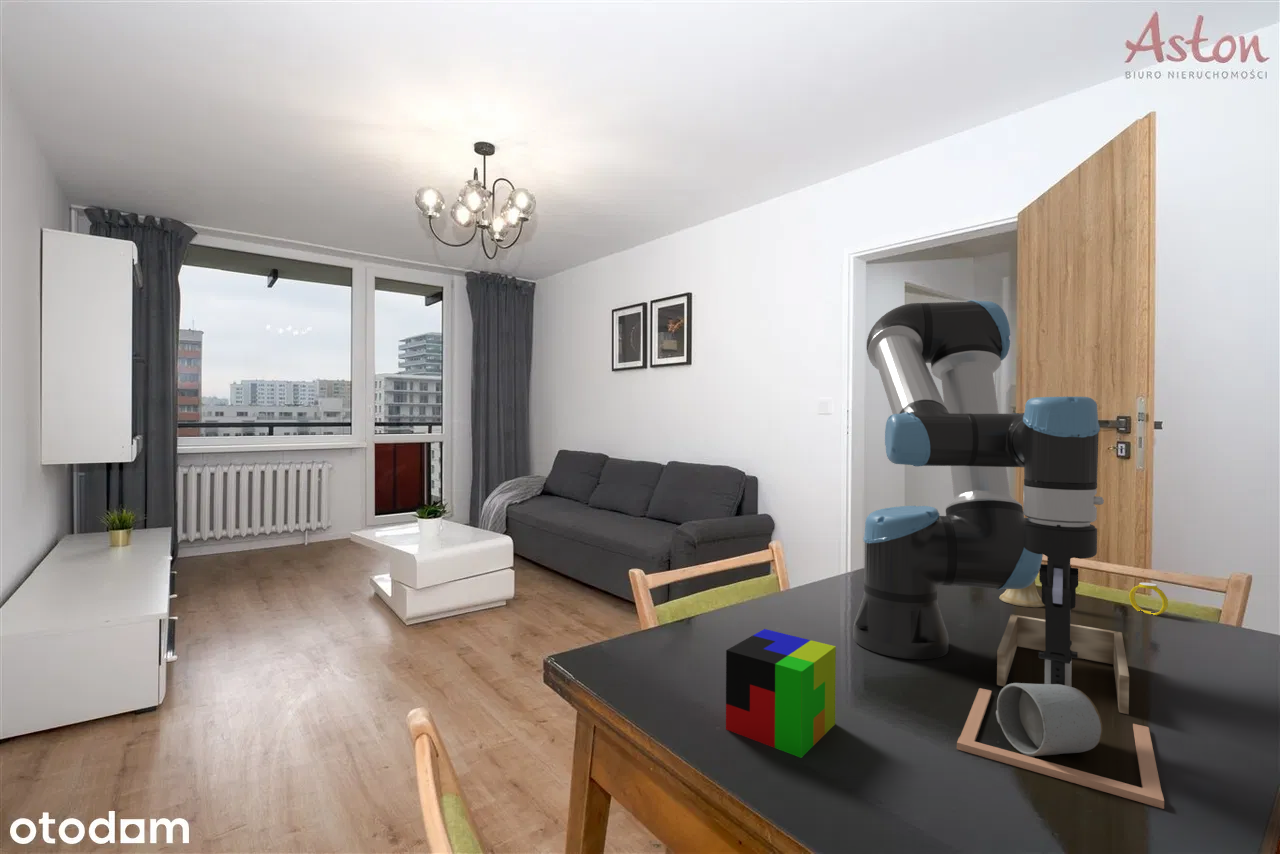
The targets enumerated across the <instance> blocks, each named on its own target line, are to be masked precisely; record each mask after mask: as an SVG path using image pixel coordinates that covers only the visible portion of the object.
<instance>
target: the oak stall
mask: <svg viewBox="0 0 1280 854" xmlns="http://www.w3.org/2000/svg"><path fill="white" fill-rule="evenodd" d="M1070 640H1071V641H1072V645H1071V647H1070V650H1072V651H1074V652H1078V657H1077V658H1076V659H1083V660H1084V659H1085V660H1089V661H1093V662H1098V663H1104V664H1110V665H1113V670H1114V671H1113V672H1114V678H1115V680H1114V682H1115V689H1116V699H1117V707H1118V713H1120V714H1125V715H1130V714H1129V712H1130V711H1129V710H1130V708H1129V707H1130V673H1129V668H1128V667H1129V666H1128V662H1127V661H1128V660H1127V656H1126V650H1125V644H1124V639H1123V632H1121V631H1116V630H1109V629H1105V628H1104V629H1102V628H1097V627H1092V626H1084V625H1080V624H1079V625H1078V624H1072V623H1071V627H1070ZM1017 647H1019V648H1025V649H1030V650H1036V651H1039V652H1044V651H1045V619H1043V618H1037V617H1036V618H1035V617H1030V616H1023V615H1019V614H1018V615H1017V614H1010V616H1009V619H1008V622H1007V624H1006V627H1005V629H1004V633H1003V634H1002V637H1001V640H1000V643H999V645H998V648H997V651H996V654H997V655H996V656H997V657H996V664H997V665H996V685H997V686H999V687H1003V688H1004V687H1005V686H1006V685H1007V681H1008V677H1009V675H1010V674H1009V673H1010V671H1011V668H1012V664H1013V661H1014V658H1015V654H1016V651H1017Z"/></svg>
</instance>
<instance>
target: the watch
mask: <svg viewBox="0 0 1280 854" xmlns="http://www.w3.org/2000/svg"><path fill="white" fill-rule="evenodd" d="M1140 588H1141V589H1142V588H1143V589H1147V590H1153V591H1154V592H1156V593H1157V594H1158V596H1159V597H1160V599H1161V602H1162V603H1161V604H1162V607H1161V608H1160V610H1159V611H1158V612H1155V613H1151V612H1152V611H1151V610H1146V609H1143V608H1141V607H1140V606H1139V605H1138V603H1137V600H1136V599H1135V598H1136V597H1135V596H1136V592H1137V590H1139V589H1140ZM1128 598H1129V601H1130V604H1131V606H1132V607H1133V608H1134V609H1135V610H1136V611H1137V612H1138V611H1140V610H1141V611H1143V612H1144V613H1143V614H1147V615H1151V614H1153V615H1152V616H1154V615H1156V616H1159V615H1161V614H1164V613H1165V612H1166V610H1167V609H1168V606H1169V601H1168V600H1169V599H1168V597H1167V596H1166V594H1165V592H1164V591H1163V590H1162V589H1161V588H1159V587H1158V584H1156V583H1151V582H1139V584H1138V585H1136V586H1133V587H1132V588H1131V590H1130V591H1129V596H1128Z"/></svg>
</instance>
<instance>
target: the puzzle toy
mask: <svg viewBox="0 0 1280 854" xmlns="http://www.w3.org/2000/svg"><path fill="white" fill-rule="evenodd" d="M836 652H837V646H836V645H831V644H829V643H828V644H827V643H824V642H819V641H815V640H810V639H808V638H804V637H803V638H802V637H799V636H795V635H792V634H786V633H782V632H779V631H775V630H771V629H766V628H764V629H762V630H760V631H758V632H756V633H755V634H752V635H751V636H749V637H748V638H746V639H744V640H741V641H740V642H738V643H737V644H734V645H733V646H732V647H729V648H728V649H726V651H725V658H726V659H725V731H729V732H731V733H733V734H737V735H740V736H742V737H745V738H747V739H751V740H753V741H755V742H759V743H761V744H763V745H766V746H769V747H771V748H774V749H777V750H779V751H781V752H785V753H787V754H790V755H793V756H796V757H798V758H800V759H801V758H802V759H803V757H804V756H805V755H806V754H807V753H808V752H809V751H810V750H811V749H812V748H813V747H814V746H815V745H816V744H817V743H818V742H819V741H820V740H821V739H822V738H823V737H824V736H825V735H826V734H827V733H828V732H829V731H830V730H831V729H832V728H833V727H835V725H836V680H837V679H836V678H837V677H836V676H837V675H836V672H837V671H836V667H837V663H836V662H837V661H836V660H837V658H836V656H837V655H836V654H837V653H836Z"/></svg>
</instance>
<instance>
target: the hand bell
mask: <svg viewBox="0 0 1280 854" xmlns="http://www.w3.org/2000/svg"><path fill="white" fill-rule="evenodd" d="M998 598H999V600H1000V601H1001V602H1004V603H1007V604H1010V605H1013V606H1019V607H1023V608H1025V607H1026V608H1042V607H1045V605H1044V604H1043V603H1042V597H1041V596H1040V595H1039V593H1038V590H1037V585H1036V579H1035V580H1034V582H1033V583H1032V584H1031V585H1030V586H1028V587H1026V588H1023V589H1006V590H1005V591H1004V592H1003V593H1002V594H1000V596H999V597H998Z"/></svg>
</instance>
